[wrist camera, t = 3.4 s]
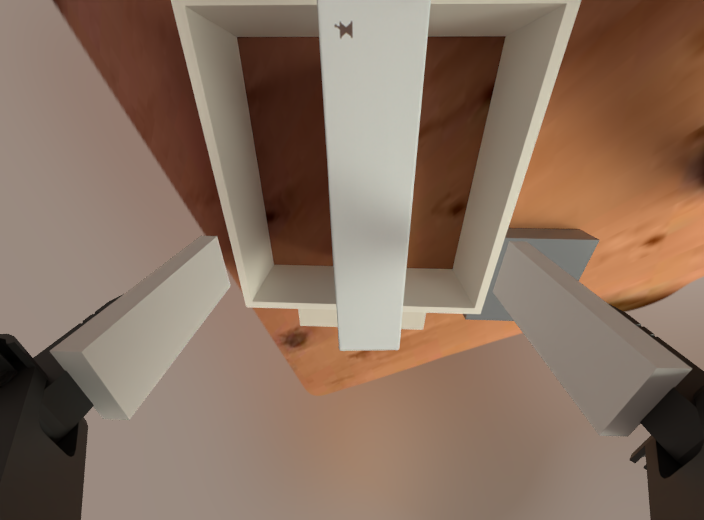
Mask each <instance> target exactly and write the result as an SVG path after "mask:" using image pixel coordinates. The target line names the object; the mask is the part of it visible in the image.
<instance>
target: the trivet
mask: <svg viewBox="0 0 704 520" xmlns="http://www.w3.org/2000/svg"><path fill="white" fill-rule="evenodd" d="M509 241H524V242H528V243H529V244H531V245H532V246H533V247H534V248H536V249H537V250H538V251H540V252H541V253H542V254H544V255H545V256H546V257H547V258H549V259H550V260H551V261H553V262H554V263H555V264H557V265H558V266H559V267H561V268H562V269H563V270H564V271H566V272H567V273H568V274H570V275H571V276H572V277H574V278H575V279H576V280H577V281H579V279H580V277H581V275H582V273H583V271H584V269H585V267H586V265H587V263H588V261H589V260H590V258H591V256H592V254H593V252H594V250H595V248H596V246H597V244H598V242H599V239H597V238H595V237H593V236H591V235H589V234H587V233H586V232H584V231H582V230H580V229H532V228H508V230H507V233H506V236H505V239H504V242H503V246H502V249H501V252H500V255H499V258H498V261H497V264H496V267H495V270H494V274H493V277H492V280H491V283H490V286H489V289H488V292H487V295H486V298H485V302H484V305H483V308H482V311H481V314H463V315H464V317H465V319H471V320H503V321H514V320H513V319H512V317H511V316H510V315H509V313H508V312H507V311H506V309H505V308H504V306H503V305H502V304H501V302H500V301H499V300H498V298H497V297H496V296H495V294H494V293H493V289H494V286H495V283H496V280H497V277H498V274H499V271H500V268H501V265H502V262H503V259H504V255H505V252H506V249H507V246H508V243H509Z"/></svg>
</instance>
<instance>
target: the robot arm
mask: <svg viewBox="0 0 704 520" xmlns="http://www.w3.org/2000/svg"><path fill="white" fill-rule="evenodd" d="M229 287H230V282H229V278H228V275H227V271H226V267H225V263H224V260H223V256H222V252H221V248H220V245H219V241H218V237H217V236H200V237H199V238H197V239H196V240H195V241H193V242H192V243H191V244H189V245H188V246H187V247H185V248H184V249H183V250H182V251H180V252H179V253H177V254H176V255H175V256H174V257H172V258H171V259H170V260H168V261H167V262H166V263H164V264H163V265H162V266H160V267H159V268H158V269H156V270H155V271H154V272H153V273H151V274H150V275H149V276H147V277H146V278H145V279H143V280H142V281H141V282H139V283H138V284H137V285H136V286H134V287H133V288H132V289H130V290H129V291H128V292H126V293H125V294H123V295H121V296H119V297H117V298H115V299H113V300H111V301H109V302H108V303H106V304H105V305H104V306H102V307H101V308H100V309H98V310H97V311H96V312H95V314H92V315H90V316H89V317H88V318H86V319H85V320H84V321H83V323H82V324H78V325H77V326H76V327H74V328H73V329H72V330H70V331H69V332H68V333H66V334H65V335H64V336H62V337H61V338H60V339H58V340H57V341H55V342H54V343H53V344H52V345H50V346H49V347H47V348H46V349H45V350H43V351H42V352H41V353H39V354H38V355H37V356H35V357H34V358H32V357H31V356H30V355H29V353H28V352H27V351H26V350H25V349H24V347H23V346H22V345H21V344H20V343H19V342H18V340H17V339H16V338H15V337H14V336H12V335H9V334H0V520H81V509H82V497H83V483H84V470H85V458H86V445H87V432H88V425H87V422H86V420H85V419H84V418H83V417H84V416H85V415H86V414H87V413H88V411H89V410H90V409H91V408H92V407H94V408H95V409H96V410H97V412H98V413H99V414H100V415H101V417H102V418H103V419H122V420H130V418H131V417H132V416H133V414H134V413H135V412H136V411H137V409H138V408H139V407H140V405H141V404H142V403H143V401H144V400H145V399H146V397H147V396H148V395H149V393H150V392H151V391H152V389H153V388H154V387H155V385H156V384H157V383H158V381H159V380H160V379H161V377H162V376H163V375H164V373H165V372H166V371H167V369H168V368H169V367H170V366H171V364H172V363H173V362H174V360H175V359H176V358H177V356H178V355H179V354H180V352H181V351H182V349H183V348H184V347H185V346H186V344H187V343H188V342H189V340H190V339H191V338H192V336H193V335H194V334H195V332H196V331H197V330H198V329H199V327H200V326H201V325H202V323H203V322H204V321H205V319H206V318H207V317H208V315H209V314H210V313H211V311H212V310H213V309H214V307H215V306H216V305H217V303H218V302H219V301H220V299H221V298H222V297H223V295H224V294H225V293H226V291H227V290H228V289H229ZM493 293H494V294H495V296H496V297H497V298H498V300H499V301H500V302H501V304H502V305H503V306H504V308H505V309H506V311H507V312H508V313H509V315H510V316H511V317H512V319H513V320H514V321H515V323H516V324H517V325H518V327H519V328H520V329H521V331H522V332H523V333H524V335H525V336H526V337H527V339H528V340H529V341H530V343H531V344H532V345H533V347H534V348H535V350H536V351H537V352H538V353H539V355H540V356H541V358H542V359H543V360H544V362H545V363H546V364H547V366H548V367H549V368H550V370H551V371H552V372H553V374H554V375H555V376H556V378H557V379H558V380H559V382H560V383H561V385H562V386H563V387H564V388H565V390H566V391H567V393H568V394H569V395H570V397H571V398H572V399H573V401H574V402H575V403H576V405H577V406H578V407H579V409H580V410H581V412H582V413H583V414H584V415H585V417H586V418H587V419H588V421H589V422H590V424H591V425H592V426H593V428H594V429H595V430H596V432H597V433H598V434H599V435H601V436H629V435H630V434H631V433H632V432H633V431H634V430H635V428H636V427H637V426H638V425H639V424H640V423H641V424H642V425H643V426H644V427H645V428H646V429H647V431H648V432H649V433H650V434H651V436H650V437H649V438H648V439H647V440H646V441H645V442H644V443H643V444H642V445H641V446H640V447H639V448H638V449H637V450H636V451H635V452H633V453H632V455H631V458H630V461H632V462H634V463H636V462H637V461H638V460H639V459H640V458H641V457H644V456H645V457H646V465H645V466H644V468H645V469H646V470H647V478H648V490H649V504H650V516H651V520H704V371H703V370H701V369H700V368H698V367H697V366H696V365H694V364H693V363H692V362H690V361H689V360H688V359H687V358H685V357H684V356H683V355H681V354H680V353H679V352H677V351H676V350H675V349H673V348H672V347H671V346H669V345H668V344H667V343H665V342H664V341H662V340H661V339H660V338H659V337H655V336H654V334H653V333H652V332H651V331H649V330H648V329H647V328H645V327H641V324H640V323H638V322H637V321H636V320H635V319H633V318H632V317H631V316H629V315H628V314H627V313H625V312H623V311H621V310H619V309H618V308H616V307H614V306H612V305H610V304H608V303H606V302H605V301H604V300H602V299H601V298H600V297H598V296H597V295H596V294H594V293H593V292H592V291H590V290H589V289H588V288H587V287H585V286H584V285H583V284H581V283H580V282H579V281H577V280H576V279H575V278H574V277H572V276H571V275H570V274H568V273H567V272H566V271H564V270H563V269H562V268H561V267H559V266H558V265H557V264H555V263H554V262H553V261H551V260H550V259H549V258H547V257H546V256H545V255H544V254H542V253H541V252H540V251H538V250H537V249H536V248H534V247H533V246H532V245H531V244H529V243H528V242H524V241H509V243H508V246H507V249H506V252H505V255H504V259H503V262H502V265H501V268H500V271H499V274H498V277H497V280H496V283H495V286H494V289H493Z"/></svg>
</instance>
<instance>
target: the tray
mask: <svg viewBox="0 0 704 520" xmlns="http://www.w3.org/2000/svg"><path fill="white" fill-rule="evenodd" d="M171 3H172V7H173V11H174V15H175V19H176V23H177V27H178V32H179V36H180V40H181V44H182V48H183V52H184V56H185V60H186V64H187V68H188V72H189V76H190V80H191V84H192V88H193V92H194V96H195V101H196V105H197V109H198V113H199V117H200V121H201V125H202V129H203V133H204V137H205V141H206V145H207V149H208V153H209V157H210V161H211V165H212V170H213V174H214V178H215V182H216V186H217V190H218V194H219V198H220V202H221V206H222V210H223V214H224V218H225V222H226V226H227V230H228V234H229V239H230V243H231V247H232V251H233V255H234V259H235V263H236V267H237V271H238V275H239V279H240V283H241V287H242V291H243V295H244V299H245V303H246V307H259V308H291V309H298V311H299V319H300V326H326V327H338V322H337V308H336V295H335V281H334V268H333V266H309V265H274V261H273V255H272V249H271V243H270V237H269V231H268V224H267V218H266V212H265V206H264V200H263V194H262V188H261V181H260V175H259V169H258V163H257V157H256V151H255V145H254V139H253V132H252V126H251V120H250V114H249V108H248V102H247V96H246V90H245V83H244V77H243V71H242V65H241V59H240V53H239V47H238V41H237V37H319V27H318V13H317V0H171ZM580 3H581V0H431V5H430V16H429V27H428V37H443V36H506V37H505V41H504V45H503V50H502V54H501V59H500V63H499V67H498V72H497V76H496V80H495V85H494V89H493V94H492V98H491V102H490V107H489V111H488V116H487V120H486V124H485V129H484V133H483V137H482V142H481V146H480V151H479V155H478V159H477V164H476V168H475V173H474V177H473V181H472V186H471V190H470V194H469V199H468V203H467V208H466V212H465V216H464V221H463V225H462V230H461V234H460V238H459V243H458V247H457V251H456V256H455V260H454V265H453V269H428V268H406V278H405V289H404V301H403V312H402V324H401V329H418V330H423V327H424V322H425V316H426V313H455V314H481V311H482V308H483V305H484V302H485V298H486V295H487V292H488V289H489V286H490V283H491V280H492V277H493V274H494V270H495V267H496V264H497V261H498V258H499V255H500V252H501V249H502V246H503V242H504V239H505V236H506V233H507V230H508V227H509V224H510V221H511V218H512V214H513V211H514V208H515V205H516V202H517V199H518V196H519V193H520V190H521V186H522V183H523V180H524V177H525V174H526V171H527V168H528V165H529V162H530V158H531V155H532V152H533V149H534V146H535V143H536V140H537V137H538V134H539V130H540V127H541V124H542V121H543V118H544V115H545V112H546V109H547V106H548V102H549V99H550V96H551V93H552V90H553V87H554V84H555V81H556V78H557V75H558V71H559V68H560V65H561V62H562V59H563V56H564V53H565V50H566V47H567V43H568V40H569V37H570V34H571V31H572V28H573V25H574V22H575V19H576V15H577V12H578V9H579V6H580Z"/></svg>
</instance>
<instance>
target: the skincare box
mask: <svg viewBox="0 0 704 520" xmlns="http://www.w3.org/2000/svg"><path fill="white" fill-rule="evenodd" d="M430 5H431V0H317V13H318V27H319V43H320V59H321V74H322V89H323V105H324V121H325V137H326V151H327V166H328V184H329V202H330V219H331V236H332V252H333V268H334V281H335V295H336V308H337V322H338V338H339V350H340V351H346V350H398V349H399V345H400V336H401V324H402V312H403V301H404V289H405V278H406V267H407V257H408V246H409V235H410V224H411V213H412V201H413V190H414V180H415V169H416V158H417V147H418V136H419V125H420V114H421V103H422V92H423V81H424V70H425V60H426V49H427V38H428V27H429V16H430Z"/></svg>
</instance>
